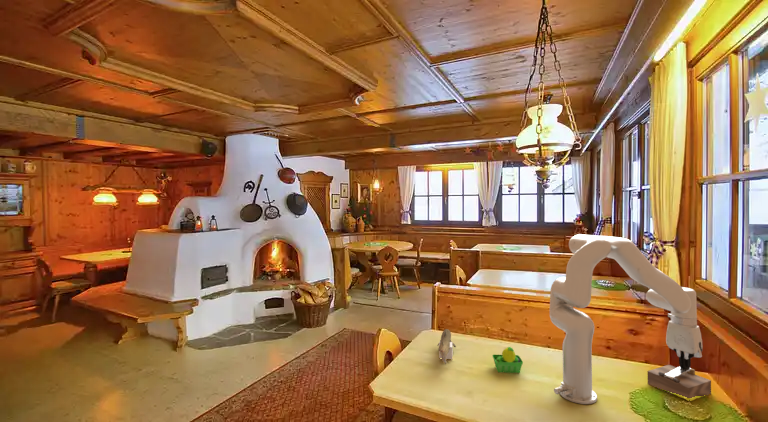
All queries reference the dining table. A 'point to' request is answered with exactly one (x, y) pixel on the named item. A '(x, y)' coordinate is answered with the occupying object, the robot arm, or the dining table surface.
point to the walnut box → (679, 382)
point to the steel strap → (676, 372)
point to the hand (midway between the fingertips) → (684, 367)
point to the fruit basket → (508, 361)
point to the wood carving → (446, 346)
